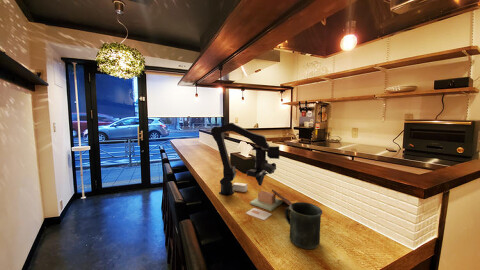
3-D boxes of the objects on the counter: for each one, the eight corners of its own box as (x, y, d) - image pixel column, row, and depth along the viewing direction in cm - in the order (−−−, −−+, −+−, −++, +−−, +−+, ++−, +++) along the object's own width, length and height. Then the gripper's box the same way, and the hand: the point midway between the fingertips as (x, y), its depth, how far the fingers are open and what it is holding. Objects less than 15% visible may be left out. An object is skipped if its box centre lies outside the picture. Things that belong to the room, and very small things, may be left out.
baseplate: (250, 204, 101) (250, 201, 101) (262, 196, 111) (262, 194, 111) (270, 211, 94) (271, 208, 94) (282, 202, 103) (282, 200, 103)
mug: (307, 255, 64) (309, 219, 63) (275, 233, 76) (276, 203, 75) (327, 243, 70) (329, 210, 69) (294, 225, 82) (295, 196, 81)
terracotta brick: (257, 200, 103) (258, 192, 103) (261, 197, 106) (262, 190, 106) (271, 204, 98) (271, 196, 98) (275, 201, 101) (275, 194, 101)
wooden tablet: (316, 222, 82) (301, 207, 80) (313, 226, 82) (298, 212, 79) (284, 197, 108) (272, 186, 105) (281, 201, 107) (269, 189, 105)
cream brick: (232, 190, 120) (232, 184, 120) (235, 188, 124) (235, 182, 124) (245, 192, 117) (245, 186, 117) (247, 190, 121) (247, 183, 121)
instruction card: (245, 213, 91) (245, 212, 91) (253, 208, 97) (254, 207, 97) (264, 220, 85) (264, 219, 85) (272, 214, 91) (272, 213, 91)
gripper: (264, 163, 98) (263, 193, 99) (281, 157, 112) (280, 184, 114) (246, 160, 105) (245, 188, 106) (264, 155, 119) (264, 180, 121)
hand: (260, 185), depth 111 cm, fingers closed
